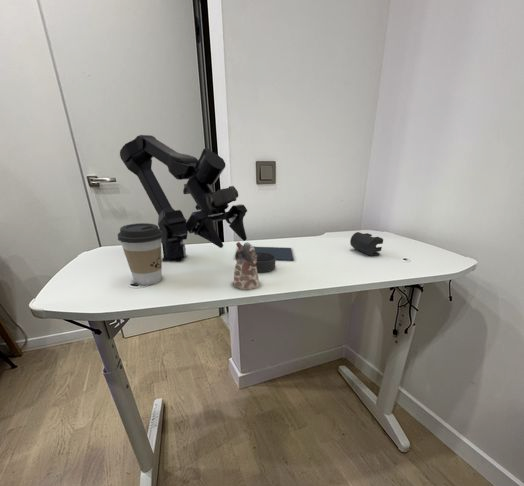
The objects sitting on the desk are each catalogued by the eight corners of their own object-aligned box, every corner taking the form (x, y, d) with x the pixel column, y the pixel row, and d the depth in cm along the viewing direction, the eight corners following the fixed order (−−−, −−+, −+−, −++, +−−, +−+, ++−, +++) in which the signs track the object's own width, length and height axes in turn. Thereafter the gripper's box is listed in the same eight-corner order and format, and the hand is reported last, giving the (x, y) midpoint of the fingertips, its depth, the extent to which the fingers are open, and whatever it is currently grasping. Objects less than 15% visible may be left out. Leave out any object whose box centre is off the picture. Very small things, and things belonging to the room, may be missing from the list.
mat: (235, 259, 100) (235, 258, 100) (239, 247, 113) (239, 246, 113) (293, 260, 100) (293, 259, 100) (290, 248, 113) (290, 247, 112)
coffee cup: (157, 290, 77) (148, 233, 70) (118, 286, 79) (105, 230, 72) (175, 274, 87) (169, 223, 80) (140, 271, 88) (131, 221, 82)
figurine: (254, 291, 78) (255, 247, 72) (229, 287, 79) (228, 244, 74) (261, 281, 84) (262, 240, 78) (238, 278, 86) (238, 237, 80)
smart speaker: (279, 271, 91) (280, 259, 89) (252, 274, 88) (252, 262, 86) (269, 262, 98) (269, 250, 96) (244, 264, 96) (244, 253, 94)
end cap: (348, 249, 114) (351, 232, 110) (362, 247, 116) (365, 231, 113) (366, 257, 105) (369, 239, 102) (381, 255, 108) (385, 237, 105)
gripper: (188, 177, 68) (223, 232, 67) (242, 174, 81) (272, 220, 80) (171, 207, 76) (203, 257, 75) (223, 200, 89) (250, 242, 88)
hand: (234, 243), depth 79 cm, fingers open, 9 cm apart
